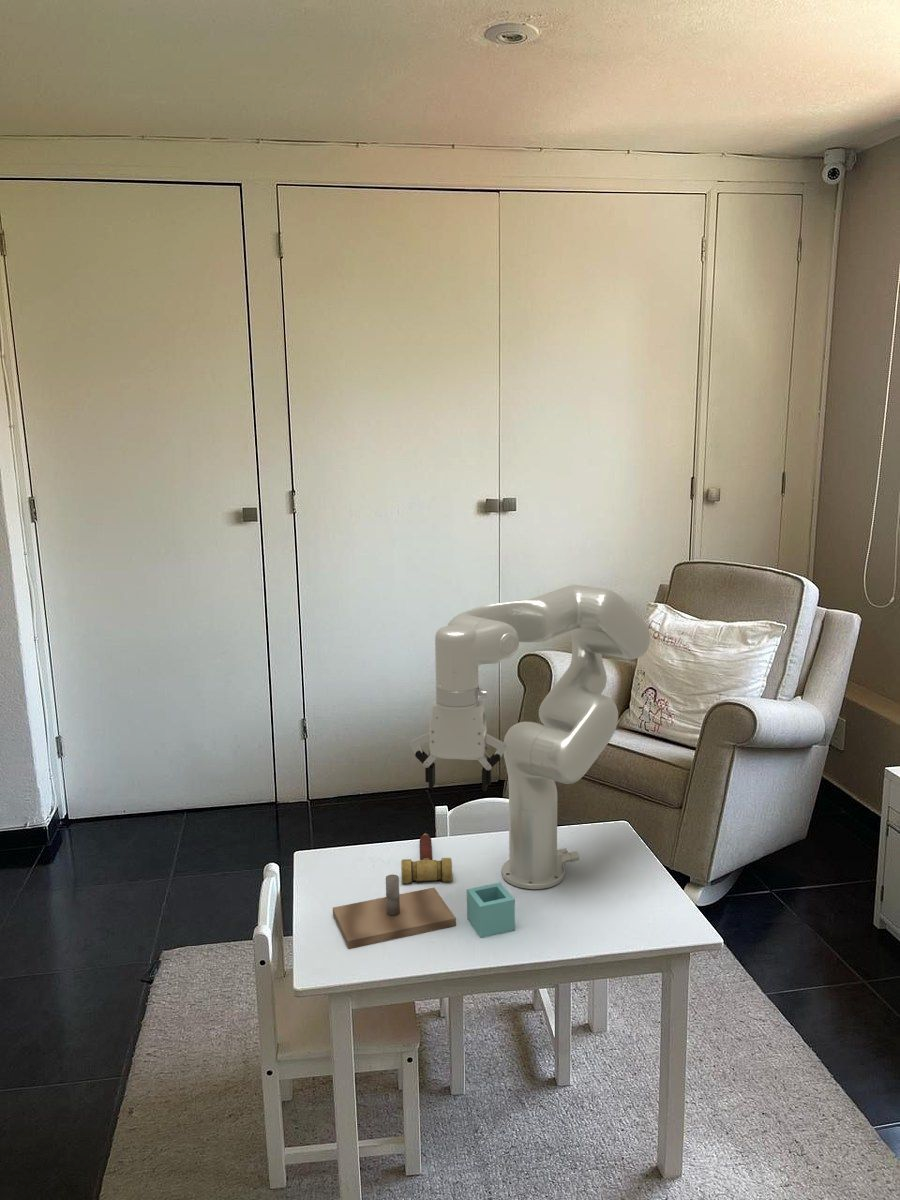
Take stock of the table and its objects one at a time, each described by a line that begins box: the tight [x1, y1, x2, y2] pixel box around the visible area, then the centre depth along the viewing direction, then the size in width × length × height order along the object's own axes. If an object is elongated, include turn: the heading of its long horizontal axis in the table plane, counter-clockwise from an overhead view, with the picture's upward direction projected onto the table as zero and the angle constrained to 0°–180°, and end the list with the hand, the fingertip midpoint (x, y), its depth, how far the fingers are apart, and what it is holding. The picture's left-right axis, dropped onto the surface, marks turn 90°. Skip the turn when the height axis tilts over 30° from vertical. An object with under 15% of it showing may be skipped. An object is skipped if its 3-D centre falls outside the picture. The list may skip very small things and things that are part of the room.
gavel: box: [400, 833, 453, 884], centre depth 193 cm, size 21×5×10 cm
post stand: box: [332, 874, 457, 949], centre depth 170 cm, size 20×12×8 cm, turn 110°
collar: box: [466, 882, 516, 939], centre depth 168 cm, size 7×7×6 cm
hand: (458, 787), depth 167 cm, fingers open, 9 cm apart
